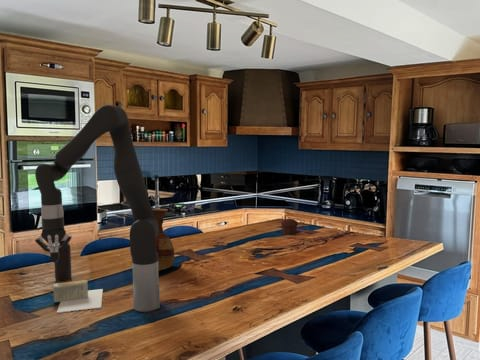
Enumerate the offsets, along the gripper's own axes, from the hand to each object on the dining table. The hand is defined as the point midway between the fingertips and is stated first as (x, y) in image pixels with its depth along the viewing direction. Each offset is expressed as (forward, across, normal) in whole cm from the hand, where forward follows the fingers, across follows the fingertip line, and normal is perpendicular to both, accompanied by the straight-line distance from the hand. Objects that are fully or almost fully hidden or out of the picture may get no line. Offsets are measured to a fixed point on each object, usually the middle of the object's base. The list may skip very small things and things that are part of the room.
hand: (55, 261), depth 154 cm
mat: (+16, +8, 0) cm, 18 cm away
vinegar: (+16, -2, +30) cm, 34 cm away
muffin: (+18, +133, +85) cm, 159 cm away
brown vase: (+17, +38, +32) cm, 53 cm away
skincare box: (+12, -2, +2) cm, 13 cm away
